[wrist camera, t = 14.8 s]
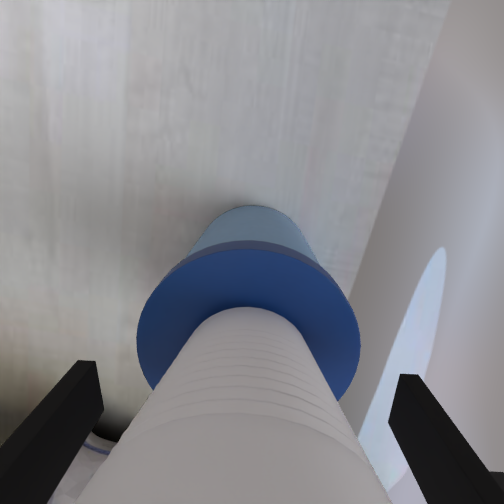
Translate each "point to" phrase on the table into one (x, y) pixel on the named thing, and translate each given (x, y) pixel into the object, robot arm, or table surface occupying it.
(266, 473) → the cup
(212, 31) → the table surface
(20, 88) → the table surface
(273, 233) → the blue lidded canister
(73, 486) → the potted plant
